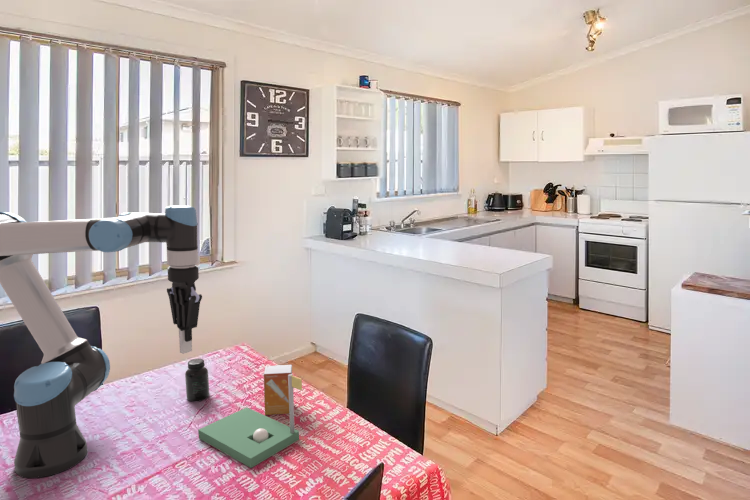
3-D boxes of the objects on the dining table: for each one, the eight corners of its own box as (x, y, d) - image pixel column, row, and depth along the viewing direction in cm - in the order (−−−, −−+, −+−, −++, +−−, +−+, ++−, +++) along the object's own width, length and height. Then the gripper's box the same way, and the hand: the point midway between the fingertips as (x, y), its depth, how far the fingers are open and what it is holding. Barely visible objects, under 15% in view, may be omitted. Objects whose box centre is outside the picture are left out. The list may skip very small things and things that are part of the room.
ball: (254, 449, 128) (247, 435, 129) (266, 442, 131) (259, 428, 132) (261, 444, 126) (254, 430, 127) (273, 437, 129) (266, 423, 130)
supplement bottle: (187, 393, 159) (185, 358, 157) (209, 391, 161) (207, 356, 159) (186, 403, 152) (183, 366, 150) (209, 400, 154) (207, 364, 152)
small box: (264, 415, 144) (263, 373, 142) (266, 405, 151) (264, 365, 149) (292, 414, 146) (291, 372, 144) (293, 404, 152) (292, 364, 150)
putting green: (198, 438, 132) (194, 373, 129) (247, 415, 145) (244, 355, 142) (259, 472, 117) (255, 399, 114) (307, 443, 130) (305, 377, 127)
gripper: (210, 266, 127) (212, 353, 131) (182, 260, 135) (185, 342, 139) (184, 271, 121) (187, 361, 125) (156, 263, 129) (159, 349, 133)
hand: (186, 351), depth 132 cm, fingers closed
